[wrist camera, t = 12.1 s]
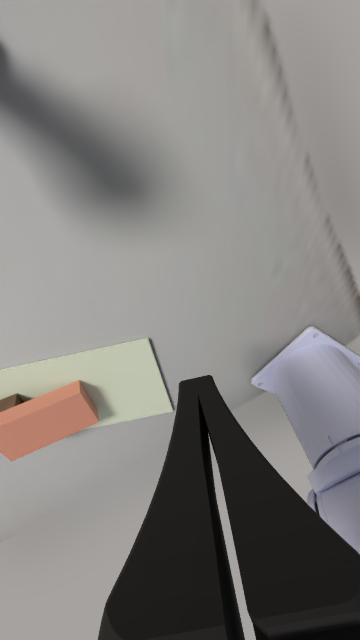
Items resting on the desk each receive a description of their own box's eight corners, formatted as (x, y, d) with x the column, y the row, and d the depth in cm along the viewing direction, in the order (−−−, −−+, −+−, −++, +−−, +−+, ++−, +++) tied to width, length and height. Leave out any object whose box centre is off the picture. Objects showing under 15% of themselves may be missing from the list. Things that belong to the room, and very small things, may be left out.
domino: (80, 392, 22) (-21, 434, 21) (99, 422, 25) (11, 461, 23) (79, 380, 23) (-16, 418, 22) (97, 409, 26) (14, 445, 24)
